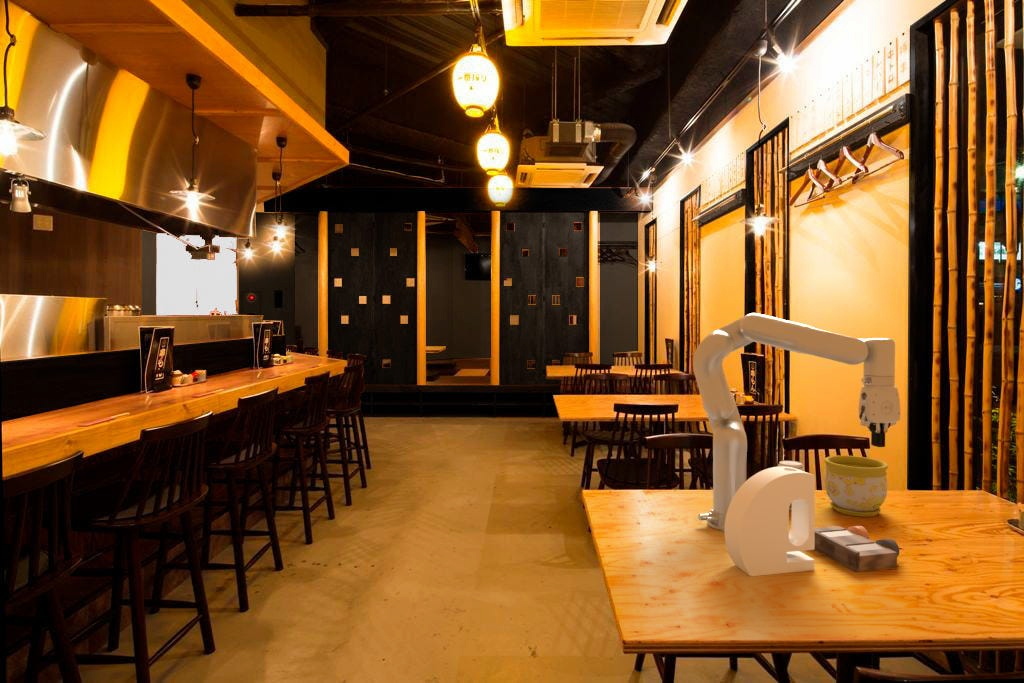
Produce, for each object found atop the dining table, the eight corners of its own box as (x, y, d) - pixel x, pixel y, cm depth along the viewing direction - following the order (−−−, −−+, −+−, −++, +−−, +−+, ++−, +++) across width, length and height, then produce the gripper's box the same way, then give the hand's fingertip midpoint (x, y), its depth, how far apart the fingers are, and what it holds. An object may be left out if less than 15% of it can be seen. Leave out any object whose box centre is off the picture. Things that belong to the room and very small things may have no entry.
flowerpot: (811, 506, 198) (812, 458, 198) (848, 499, 205) (849, 453, 205) (862, 523, 182) (862, 470, 181) (900, 515, 189) (900, 464, 188)
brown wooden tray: (855, 572, 146) (856, 552, 146) (801, 542, 166) (801, 525, 166) (896, 568, 149) (897, 548, 149) (838, 539, 168) (838, 522, 168)
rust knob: (827, 550, 159) (827, 532, 159) (815, 543, 164) (815, 526, 164) (868, 546, 162) (868, 529, 162) (855, 540, 166) (855, 523, 166)
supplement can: (808, 510, 194) (809, 465, 193) (783, 510, 194) (783, 465, 193) (797, 503, 202) (797, 460, 201) (773, 503, 202) (773, 460, 202)
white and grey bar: (855, 565, 149) (855, 546, 149) (841, 557, 154) (841, 539, 154) (899, 560, 152) (899, 542, 152) (884, 553, 157) (884, 535, 156)
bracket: (814, 570, 148) (815, 471, 147) (739, 577, 144) (740, 475, 143) (796, 560, 155) (797, 465, 154) (724, 566, 151) (724, 469, 150)
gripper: (866, 383, 161) (865, 450, 161) (912, 382, 164) (911, 447, 164) (845, 381, 168) (845, 444, 169) (890, 379, 171) (889, 442, 172)
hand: (878, 446), depth 166 cm, fingers closed
